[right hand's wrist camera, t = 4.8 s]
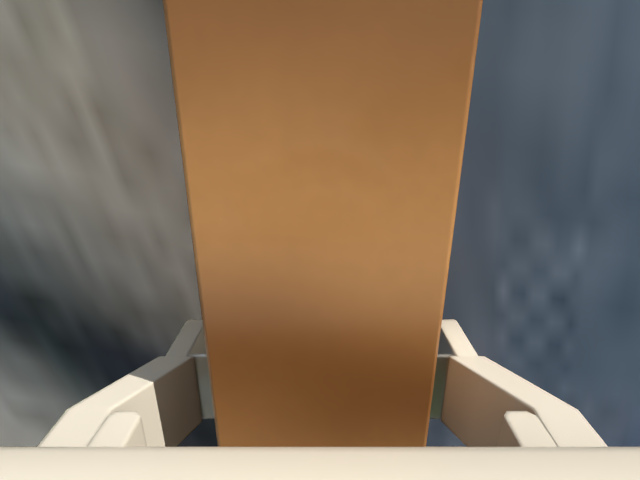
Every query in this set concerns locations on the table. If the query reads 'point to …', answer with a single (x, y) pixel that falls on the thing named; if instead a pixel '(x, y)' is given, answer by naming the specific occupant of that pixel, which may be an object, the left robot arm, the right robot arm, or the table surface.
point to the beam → (322, 207)
